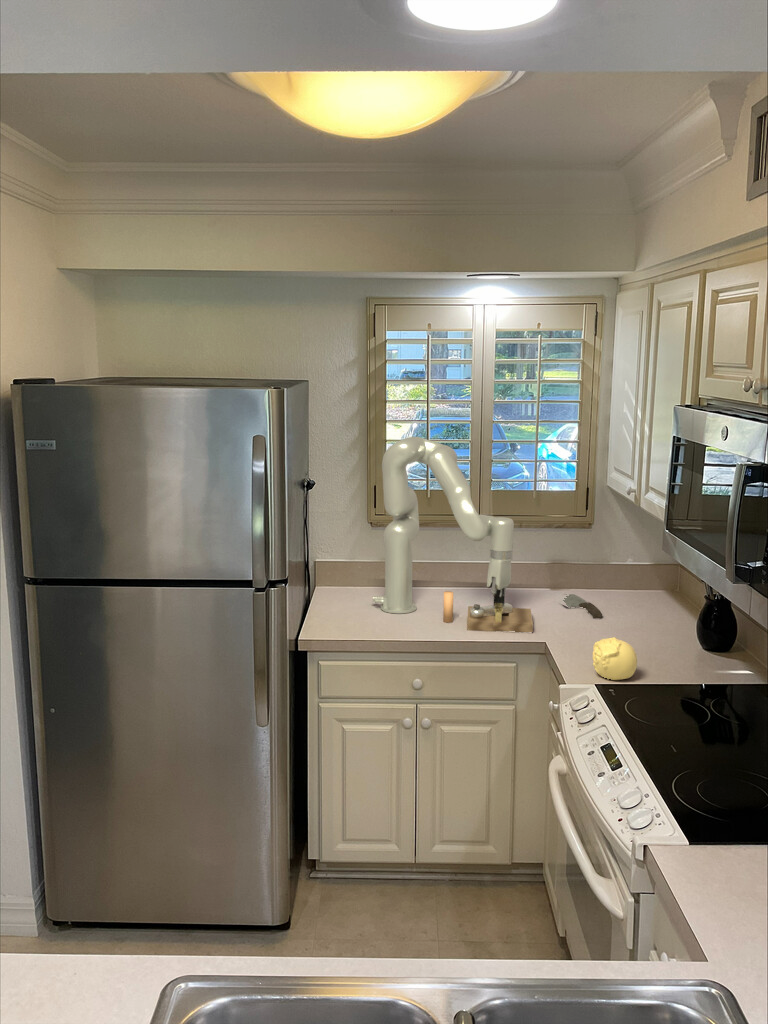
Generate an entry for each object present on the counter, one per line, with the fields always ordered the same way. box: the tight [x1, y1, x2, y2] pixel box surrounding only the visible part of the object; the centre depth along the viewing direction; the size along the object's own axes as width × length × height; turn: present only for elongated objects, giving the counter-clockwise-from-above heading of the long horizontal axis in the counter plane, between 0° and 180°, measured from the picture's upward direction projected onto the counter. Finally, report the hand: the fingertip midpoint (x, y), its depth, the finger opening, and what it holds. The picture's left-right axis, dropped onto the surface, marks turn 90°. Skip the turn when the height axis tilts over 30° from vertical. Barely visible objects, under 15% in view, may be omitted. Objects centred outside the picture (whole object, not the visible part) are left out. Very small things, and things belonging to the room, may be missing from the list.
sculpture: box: [592, 636, 638, 681], centre depth 231 cm, size 11×12×11 cm
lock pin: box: [442, 590, 454, 624], centre depth 278 cm, size 3×3×10 cm
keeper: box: [495, 603, 502, 622], centre depth 272 cm, size 2×7×4 cm, turn 173°
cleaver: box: [563, 593, 603, 619], centre depth 297 cm, size 29×10×2 cm, turn 11°
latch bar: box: [470, 602, 513, 618], centre depth 277 cm, size 15×4×2 cm, turn 116°
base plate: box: [466, 603, 534, 633], centre depth 277 cm, size 21×17×7 cm
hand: (498, 607), depth 282 cm, fingers closed
